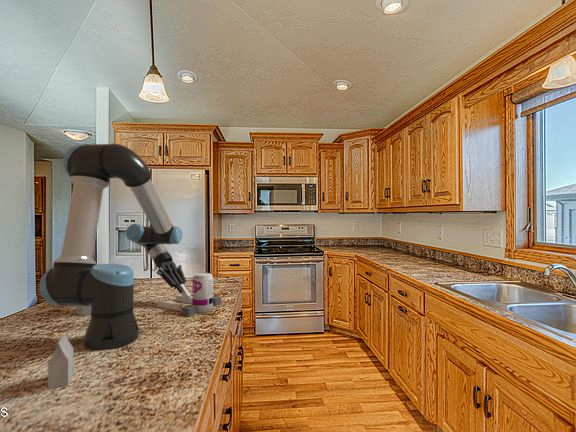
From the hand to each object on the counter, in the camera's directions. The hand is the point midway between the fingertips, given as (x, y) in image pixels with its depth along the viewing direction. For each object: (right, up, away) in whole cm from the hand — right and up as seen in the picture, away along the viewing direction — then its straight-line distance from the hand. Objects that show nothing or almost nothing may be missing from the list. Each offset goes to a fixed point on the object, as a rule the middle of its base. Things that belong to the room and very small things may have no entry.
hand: (187, 297), depth 134 cm
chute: (-1, -4, 0) cm, 4 cm away
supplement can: (+8, -4, -6) cm, 11 cm away
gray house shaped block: (-10, -4, -61) cm, 62 cm away
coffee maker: (-36, -4, -10) cm, 38 cm away
